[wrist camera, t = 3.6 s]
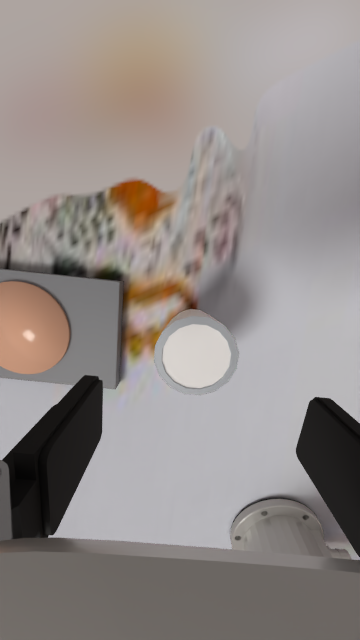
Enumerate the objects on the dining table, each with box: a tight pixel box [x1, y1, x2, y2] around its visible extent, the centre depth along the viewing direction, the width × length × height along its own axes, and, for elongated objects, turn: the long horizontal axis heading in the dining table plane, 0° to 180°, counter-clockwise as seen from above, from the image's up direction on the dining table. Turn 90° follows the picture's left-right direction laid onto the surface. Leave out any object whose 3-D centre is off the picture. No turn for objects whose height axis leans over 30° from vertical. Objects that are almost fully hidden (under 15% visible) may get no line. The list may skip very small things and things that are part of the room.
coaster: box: [0, 281, 70, 374], centre depth 22 cm, size 10×10×1 cm
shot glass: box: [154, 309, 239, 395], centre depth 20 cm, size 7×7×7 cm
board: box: [0, 268, 124, 389], centre depth 23 cm, size 18×12×2 cm, turn 84°
